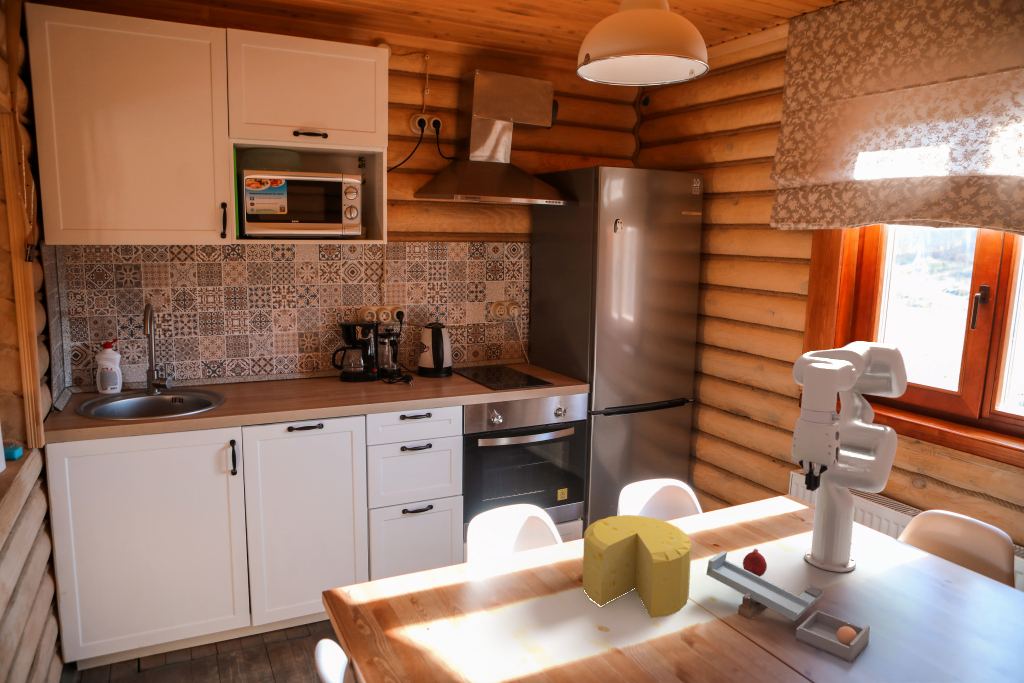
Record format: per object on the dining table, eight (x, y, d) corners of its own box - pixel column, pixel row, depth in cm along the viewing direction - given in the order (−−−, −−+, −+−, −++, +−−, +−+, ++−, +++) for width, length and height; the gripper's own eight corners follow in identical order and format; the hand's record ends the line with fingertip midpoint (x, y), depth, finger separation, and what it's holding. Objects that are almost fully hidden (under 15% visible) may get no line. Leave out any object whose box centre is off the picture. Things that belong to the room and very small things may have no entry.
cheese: (619, 628, 152) (621, 566, 150) (563, 576, 176) (565, 521, 173) (711, 604, 163) (714, 545, 160) (647, 557, 186) (649, 505, 184)
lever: (738, 553, 176) (740, 539, 175) (823, 595, 161) (826, 580, 160) (703, 576, 164) (705, 561, 163) (791, 623, 149) (795, 607, 148)
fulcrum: (757, 598, 165) (758, 581, 164) (770, 603, 163) (771, 586, 162) (737, 614, 158) (738, 596, 158) (750, 619, 156) (752, 601, 155)
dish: (814, 621, 156) (815, 605, 155) (868, 642, 147) (870, 625, 147) (795, 639, 149) (796, 622, 148) (851, 663, 140) (852, 645, 140)
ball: (847, 619, 147) (864, 633, 145) (837, 631, 149) (854, 645, 147) (840, 626, 144) (857, 641, 142) (830, 638, 146) (847, 653, 144)
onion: (767, 585, 172) (769, 555, 171) (743, 582, 173) (745, 553, 172) (763, 574, 177) (765, 545, 176) (740, 571, 179) (742, 543, 177)
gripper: (856, 418, 159) (850, 493, 161) (793, 407, 169) (788, 477, 172) (844, 424, 153) (838, 502, 156) (780, 412, 164) (775, 484, 167)
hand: (811, 489), depth 164 cm, fingers closed
